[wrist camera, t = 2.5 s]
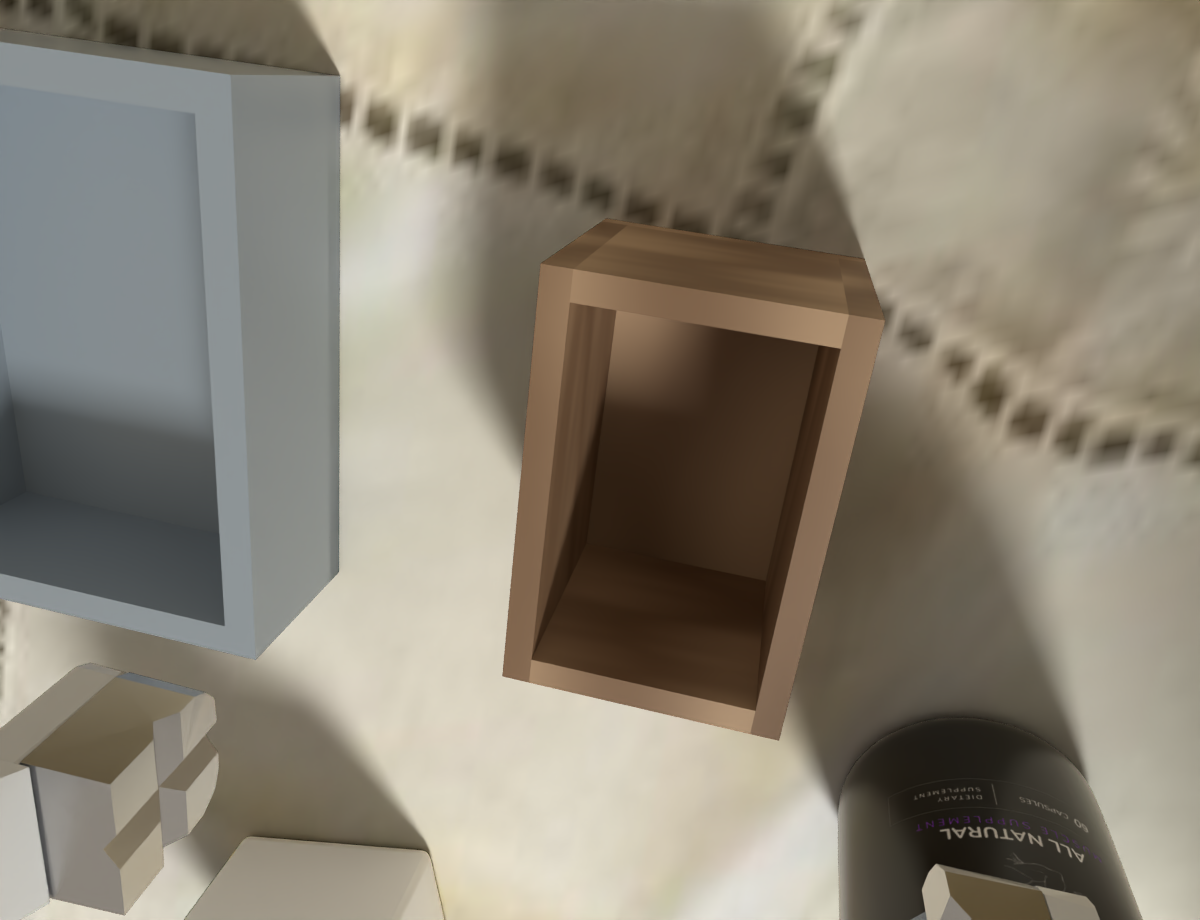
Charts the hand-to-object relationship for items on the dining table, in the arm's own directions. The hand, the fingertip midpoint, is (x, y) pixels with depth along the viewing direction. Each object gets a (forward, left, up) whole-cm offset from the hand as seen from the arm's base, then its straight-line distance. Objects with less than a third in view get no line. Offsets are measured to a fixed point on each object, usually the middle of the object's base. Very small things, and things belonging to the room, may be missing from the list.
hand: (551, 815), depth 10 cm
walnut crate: (0, 0, -14) cm, 14 cm away
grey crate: (+15, 0, -14) cm, 20 cm away
